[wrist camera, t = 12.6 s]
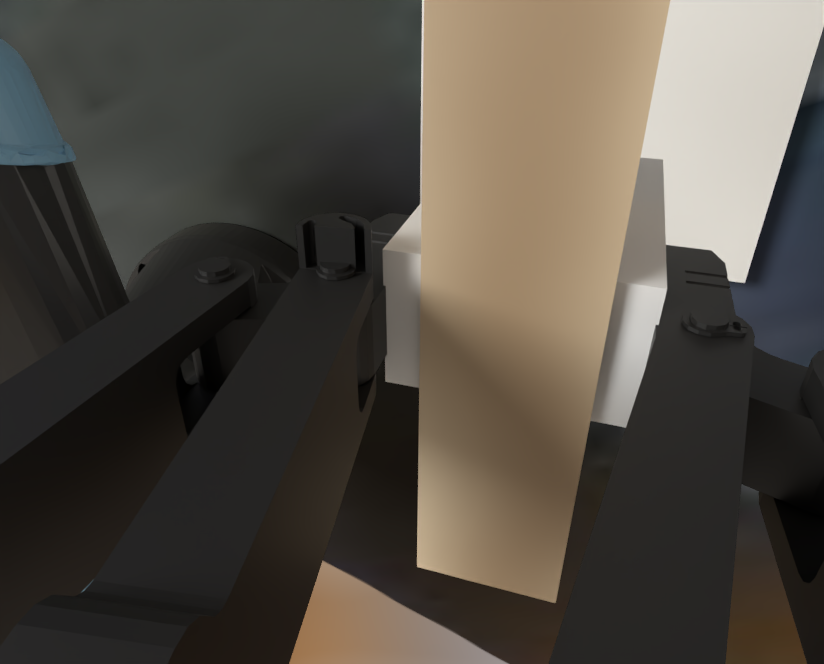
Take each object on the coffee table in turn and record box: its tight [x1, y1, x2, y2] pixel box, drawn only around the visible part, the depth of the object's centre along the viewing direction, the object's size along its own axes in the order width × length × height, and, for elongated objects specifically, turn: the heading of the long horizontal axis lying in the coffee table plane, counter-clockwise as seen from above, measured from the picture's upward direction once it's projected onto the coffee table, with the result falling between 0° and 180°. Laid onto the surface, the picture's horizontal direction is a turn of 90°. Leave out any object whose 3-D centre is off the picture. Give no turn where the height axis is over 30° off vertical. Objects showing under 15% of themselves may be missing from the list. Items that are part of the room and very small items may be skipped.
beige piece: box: [417, 0, 670, 603], centre depth 12 cm, size 14×17×7 cm
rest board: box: [420, 0, 824, 283], centre depth 28 cm, size 16×21×1 cm
